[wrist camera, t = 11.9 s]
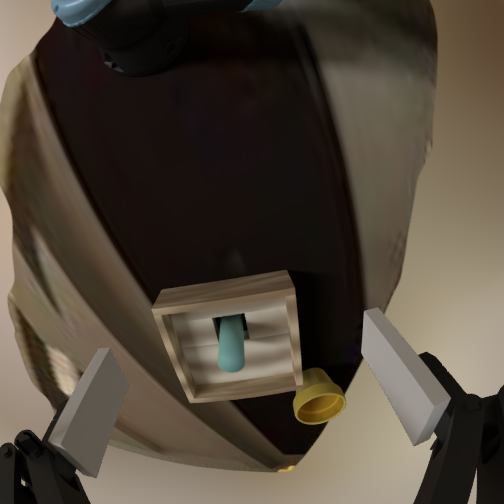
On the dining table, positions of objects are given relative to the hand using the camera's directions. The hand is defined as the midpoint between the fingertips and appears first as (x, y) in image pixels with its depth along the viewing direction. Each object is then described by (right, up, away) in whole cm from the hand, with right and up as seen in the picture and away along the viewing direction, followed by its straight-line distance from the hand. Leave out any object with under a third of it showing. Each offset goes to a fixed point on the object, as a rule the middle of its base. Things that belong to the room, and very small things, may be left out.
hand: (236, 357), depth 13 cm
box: (-3, -10, +38) cm, 39 cm away
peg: (-3, -7, +37) cm, 38 cm away
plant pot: (+14, -23, +43) cm, 51 cm away
